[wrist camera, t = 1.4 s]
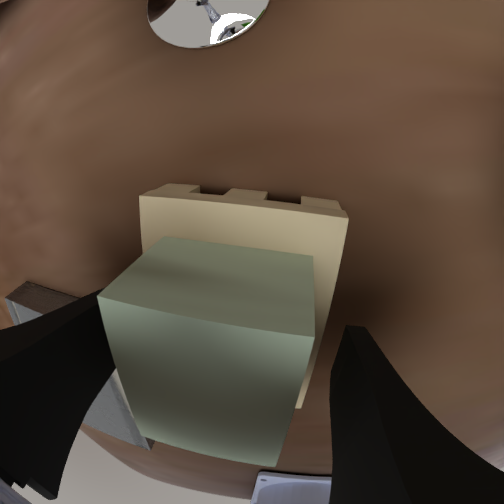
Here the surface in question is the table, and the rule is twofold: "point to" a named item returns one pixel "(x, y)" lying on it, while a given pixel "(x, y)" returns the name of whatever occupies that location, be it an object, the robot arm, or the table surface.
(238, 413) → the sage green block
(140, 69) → the table surface
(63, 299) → the dock
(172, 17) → the wineglass
